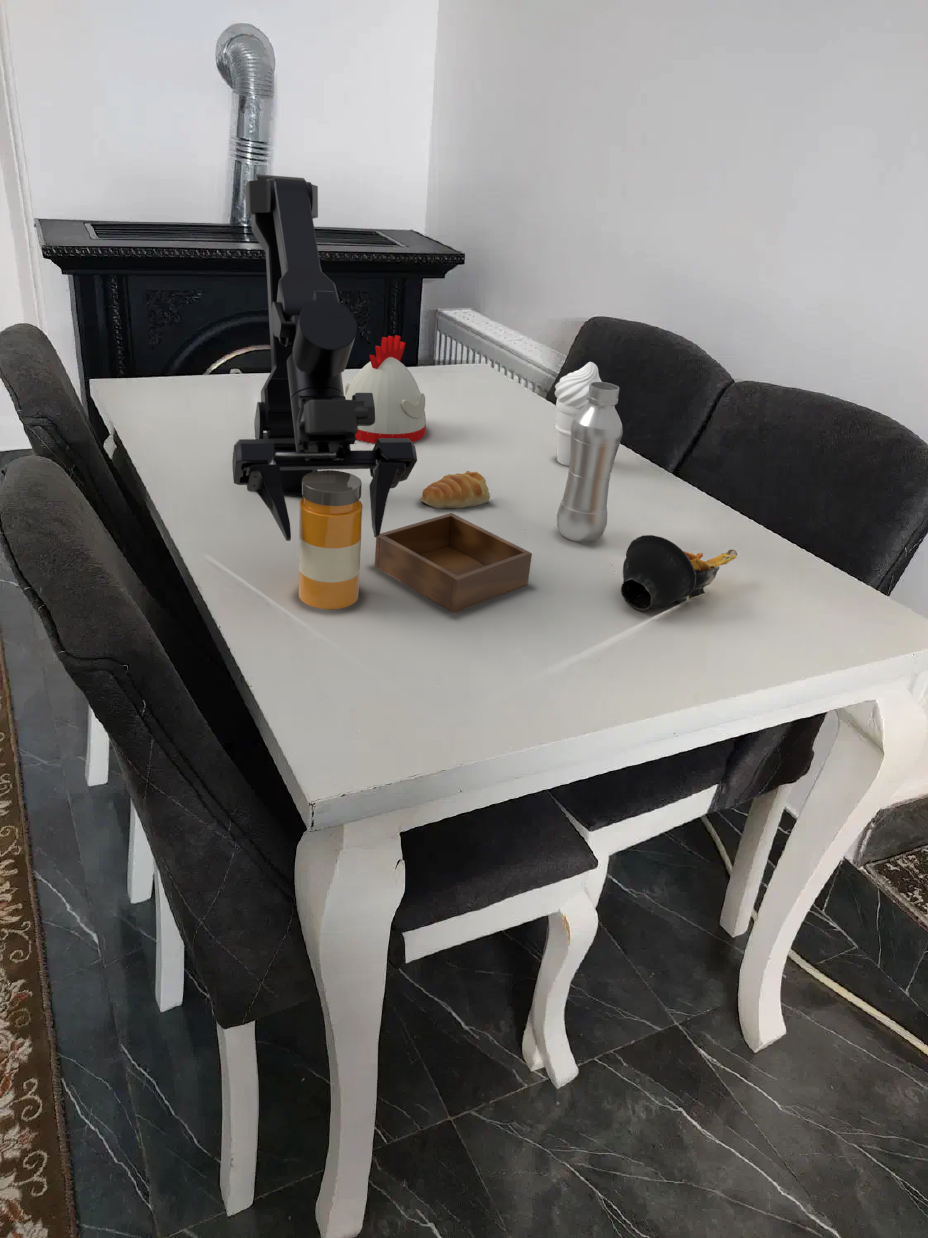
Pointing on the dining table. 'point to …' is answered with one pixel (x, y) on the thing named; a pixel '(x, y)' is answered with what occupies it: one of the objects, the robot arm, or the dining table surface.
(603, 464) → the silver metal bottle
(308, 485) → the jar
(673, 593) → the fried shrimp in bowl
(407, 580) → the wooden box
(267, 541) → the dining table surface
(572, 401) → the ice cream cone
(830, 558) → the dining table surface
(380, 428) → the kitchen timer
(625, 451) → the dining table surface
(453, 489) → the pastry
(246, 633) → the dining table surface
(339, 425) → the robot arm
